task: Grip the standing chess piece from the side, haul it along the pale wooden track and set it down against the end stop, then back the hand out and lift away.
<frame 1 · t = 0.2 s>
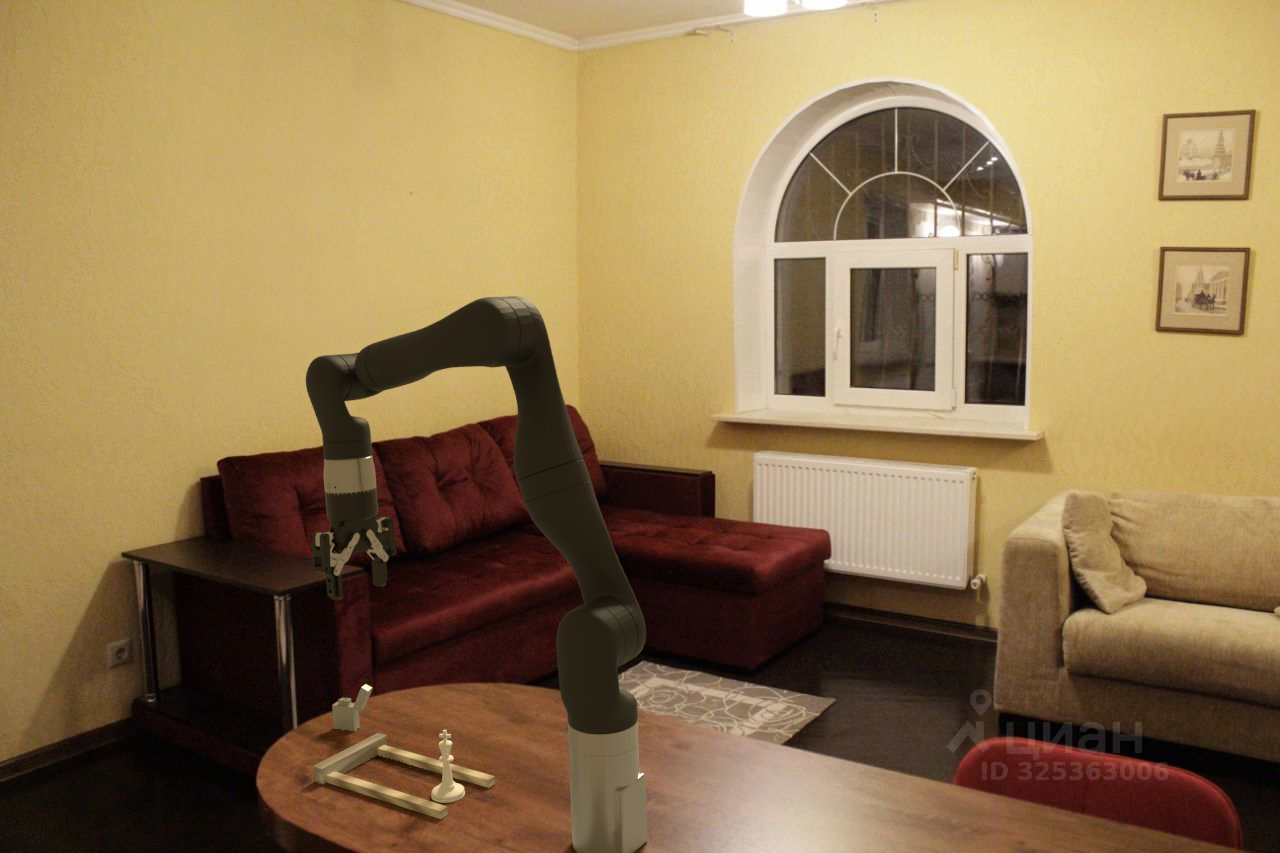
hand: (358, 592, 160), 29 cm above the table, tool pointing down, fingers open, 8 cm apart
lighter: (354, 730, 179), on the table
track: (408, 782, 159), on the table
chess piece: (448, 796, 155), on the table
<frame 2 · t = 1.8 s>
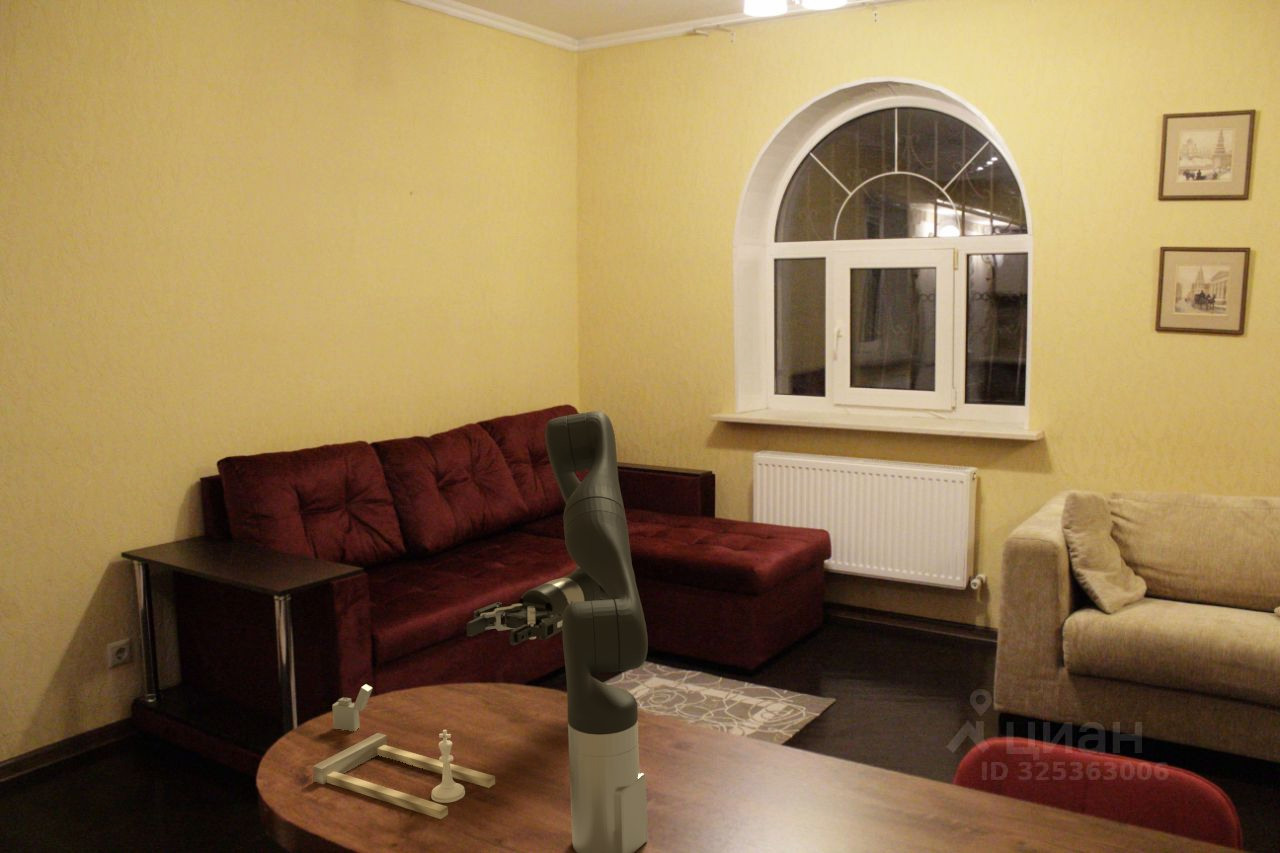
hand: (489, 634, 161), 21 cm above the table, tool horizontal, fingers open, 8 cm apart
nothing on the table moved.
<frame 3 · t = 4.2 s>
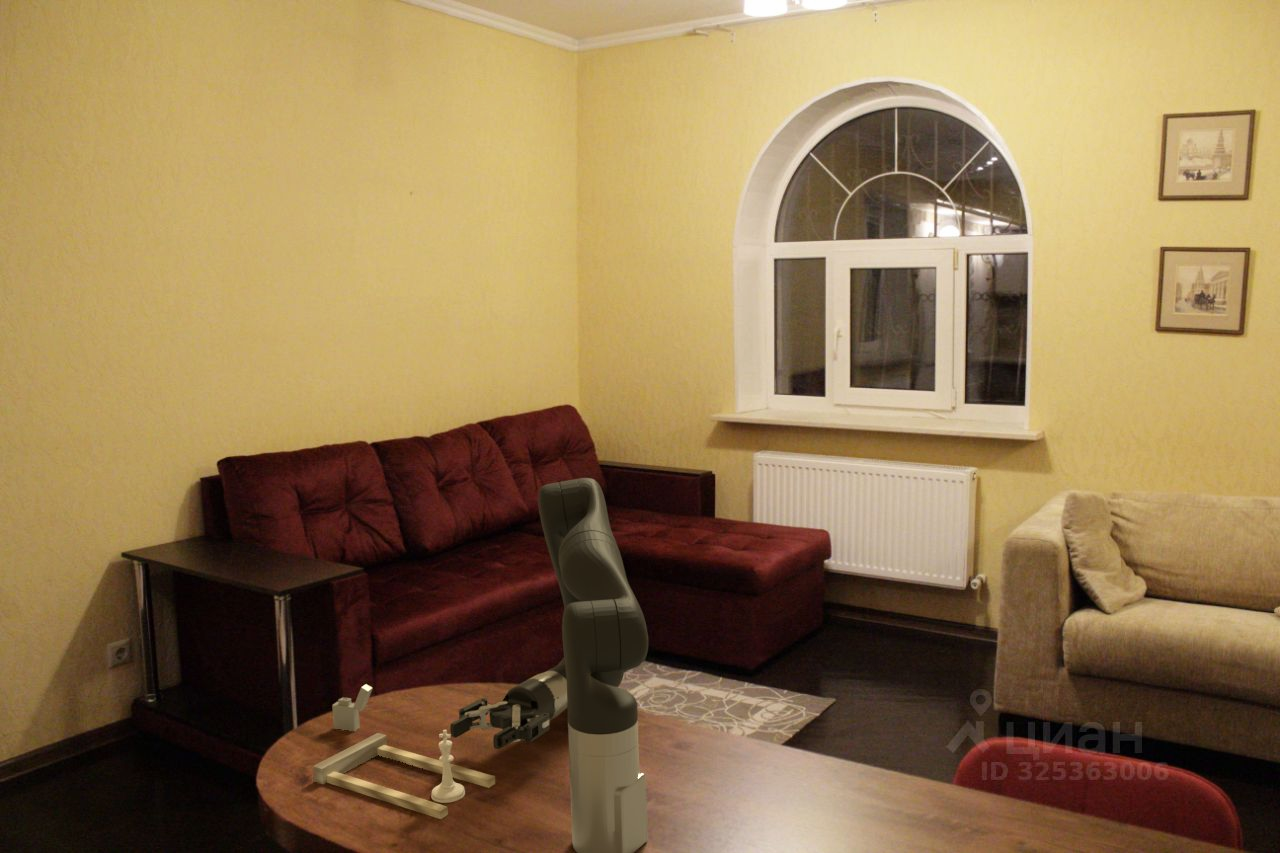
hand: (473, 737, 159), 6 cm above the table, tool horizontal, fingers open, 8 cm apart
nothing on the table moved.
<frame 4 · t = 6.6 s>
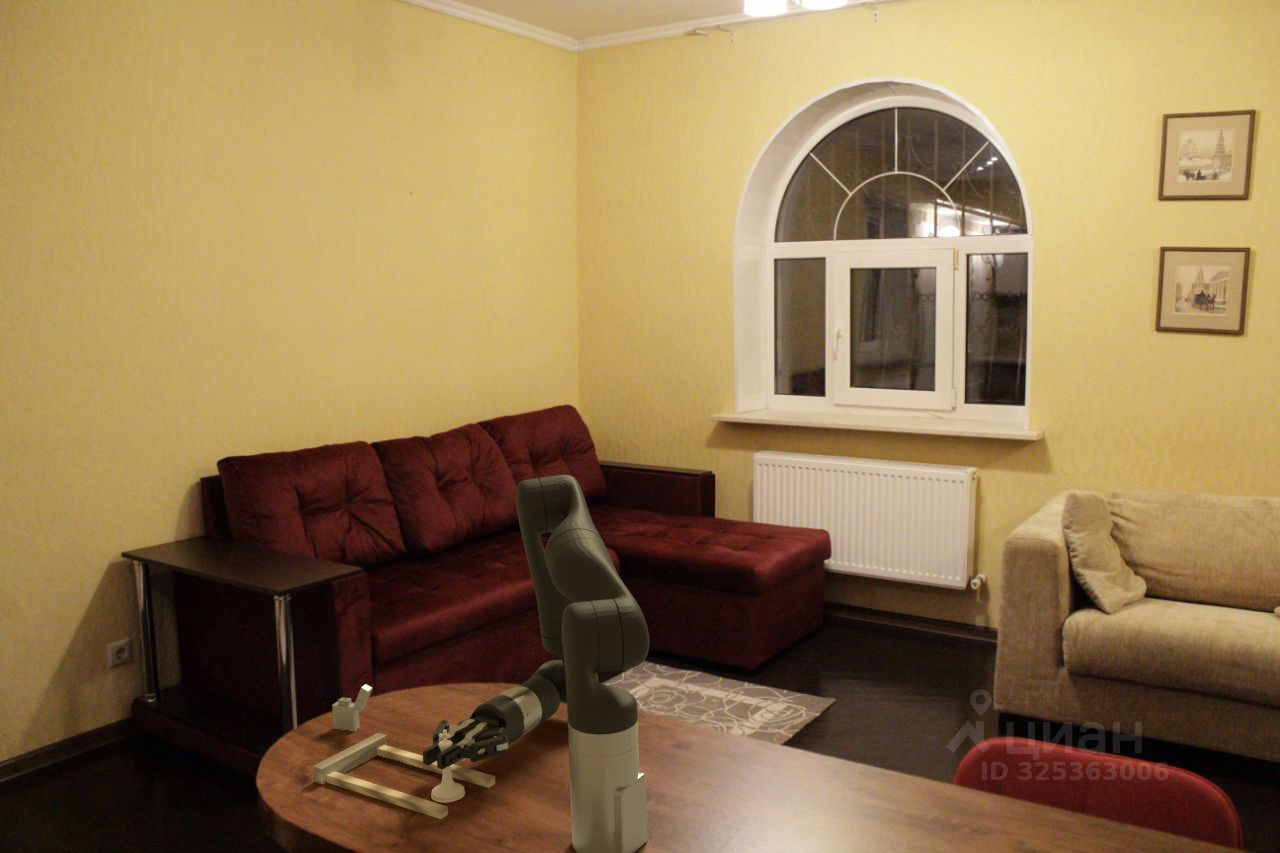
hand: (432, 760, 151), 7 cm above the table, tool horizontal, fingers closed on chess piece
chess piece: (448, 795, 155), on the table, touching gripper
everything else where it was.
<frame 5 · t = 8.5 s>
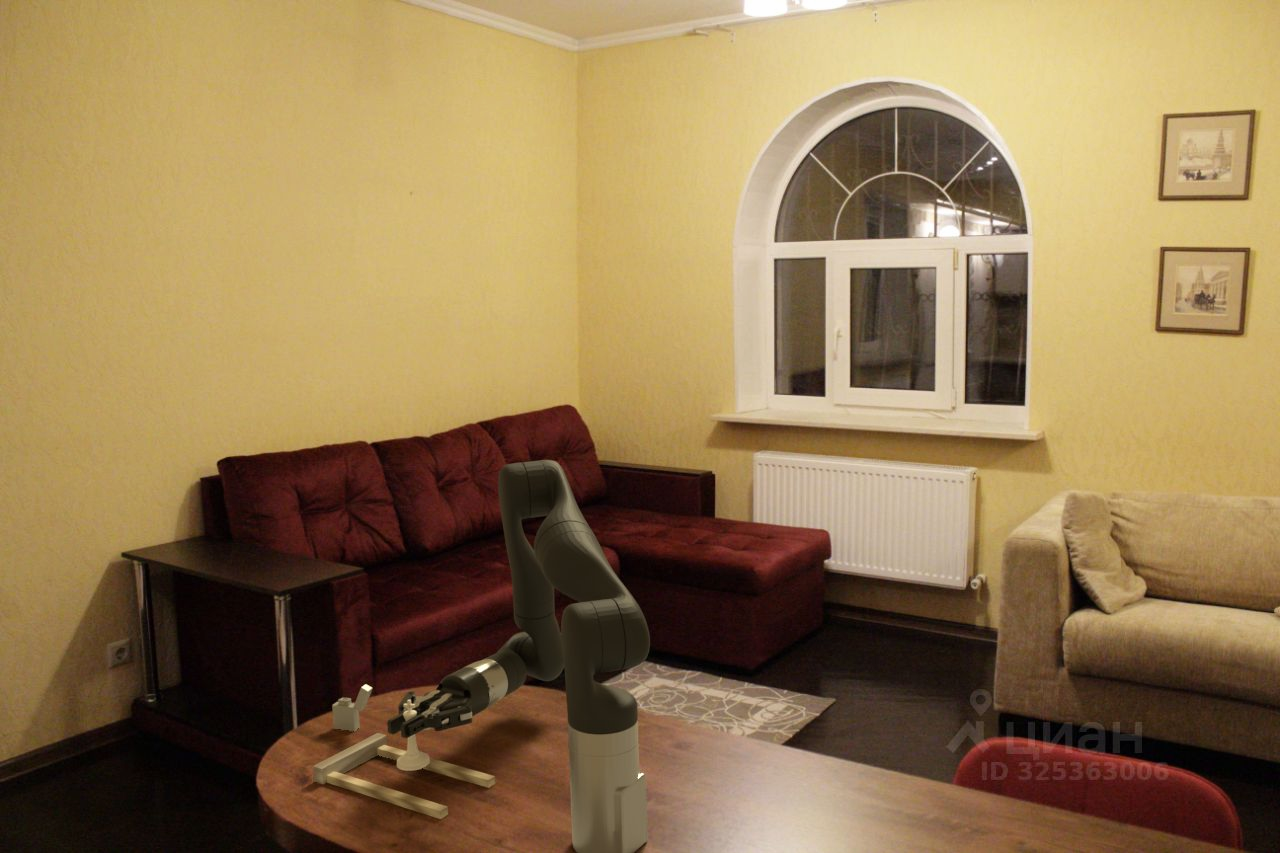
hand: (396, 729, 155), 10 cm above the table, tool horizontal, fingers closed on chess piece
chess piece: (413, 764, 158), point 3 cm above the table, touching gripper
everything else where it was.
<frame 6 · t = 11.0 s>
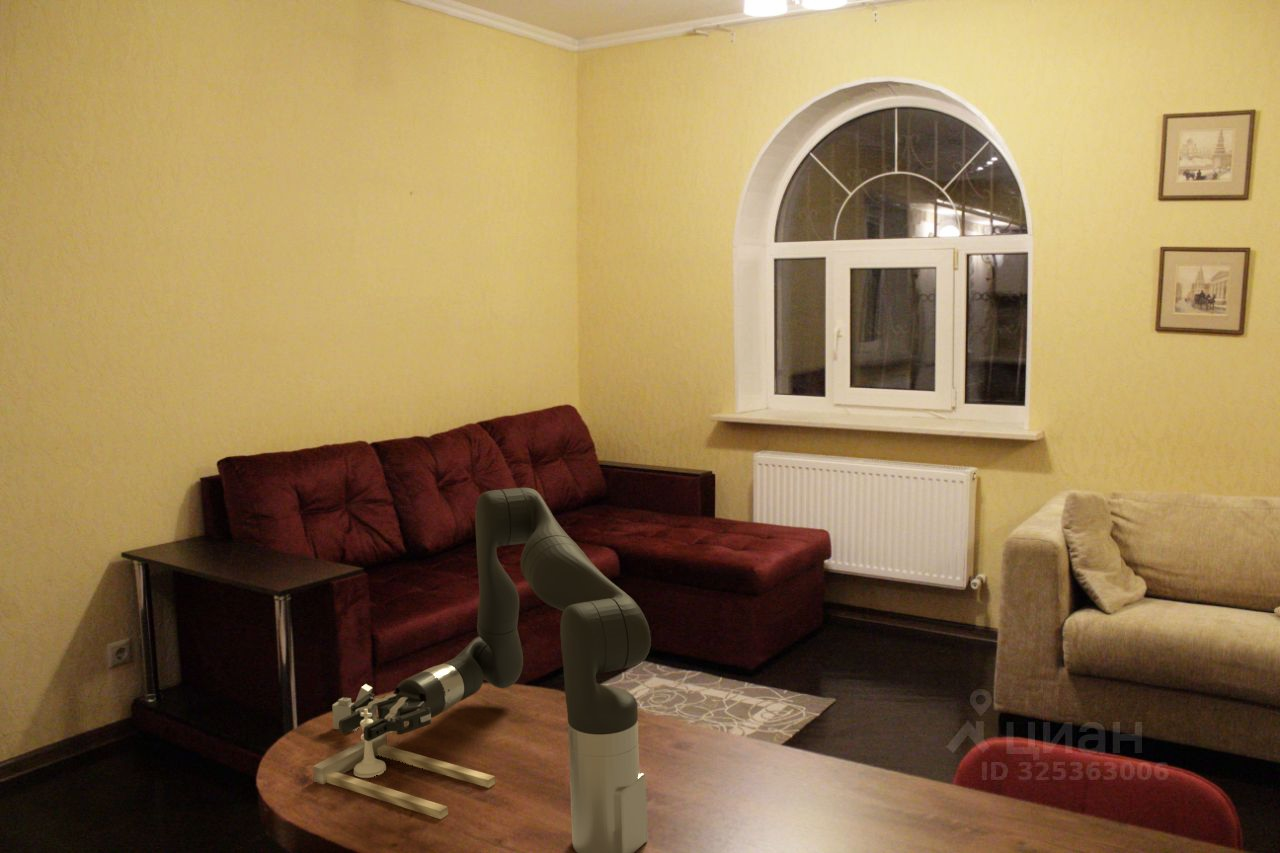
hand: (353, 731, 160), 7 cm above the table, tool horizontal, fingers open, 4 cm apart
chess piece: (370, 771, 163), on the table
everything else where it was.
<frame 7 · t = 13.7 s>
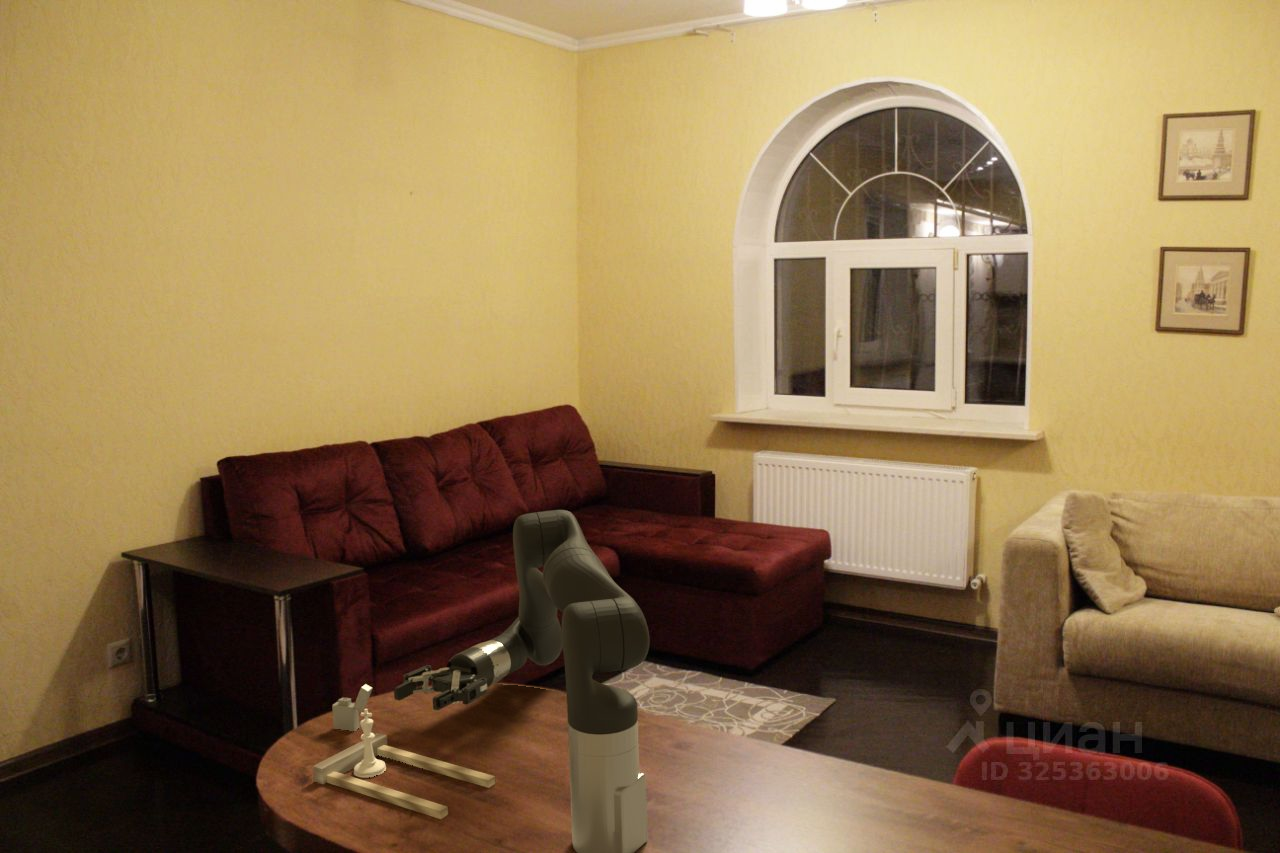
hand: (414, 699, 171), 8 cm above the table, tool horizontal, fingers open, 8 cm apart
nothing on the table moved.
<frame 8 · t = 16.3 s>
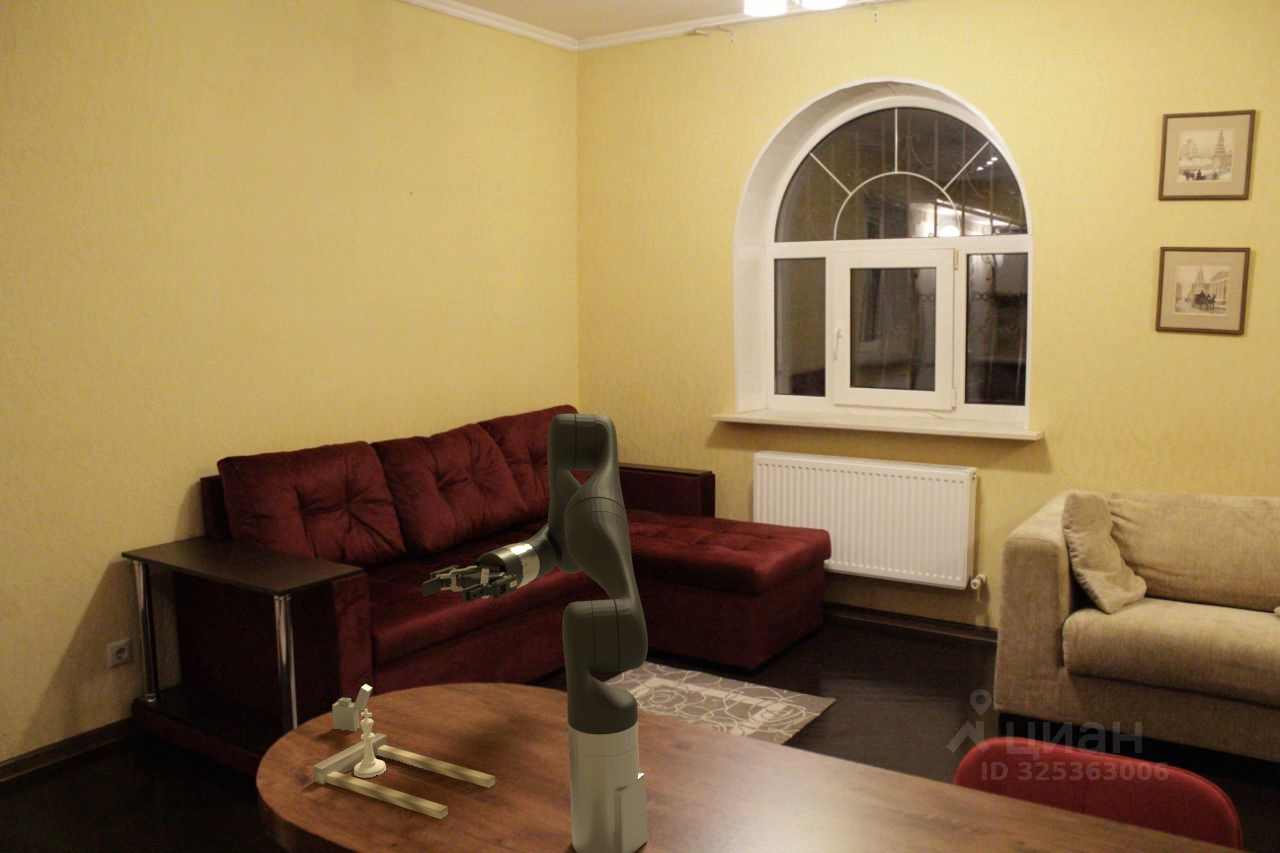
hand: (443, 593, 167), 26 cm above the table, tool horizontal, fingers open, 8 cm apart
nothing on the table moved.
at the end: chess piece 0.2 cm from the target spot, on the table; chess piece tilted 0°; the gripper is holding nothing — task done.
